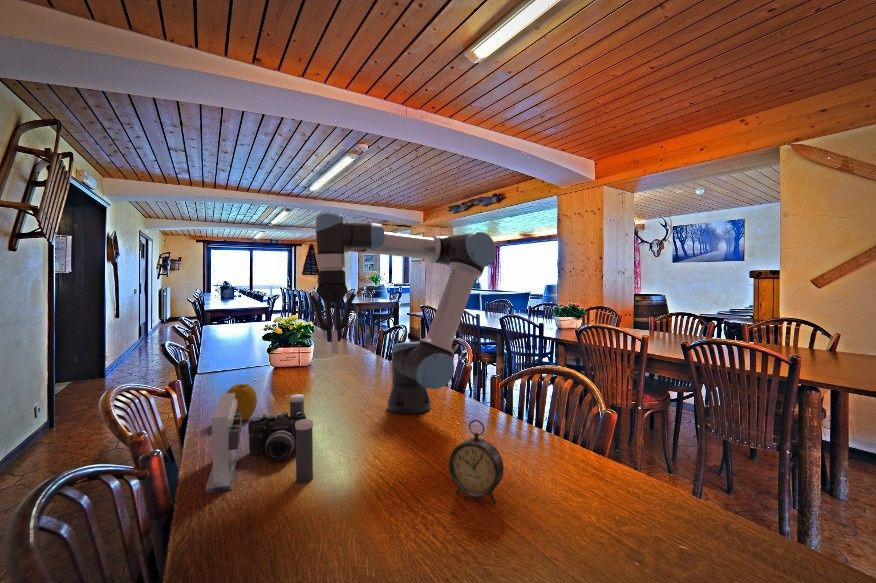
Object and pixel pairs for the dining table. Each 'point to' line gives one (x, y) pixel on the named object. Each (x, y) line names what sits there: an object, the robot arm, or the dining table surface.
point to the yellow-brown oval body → (244, 400)
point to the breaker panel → (224, 444)
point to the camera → (273, 435)
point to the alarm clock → (476, 467)
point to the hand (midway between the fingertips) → (334, 352)
